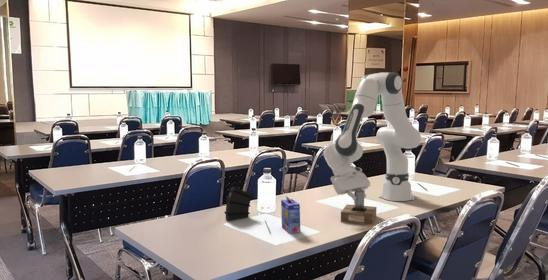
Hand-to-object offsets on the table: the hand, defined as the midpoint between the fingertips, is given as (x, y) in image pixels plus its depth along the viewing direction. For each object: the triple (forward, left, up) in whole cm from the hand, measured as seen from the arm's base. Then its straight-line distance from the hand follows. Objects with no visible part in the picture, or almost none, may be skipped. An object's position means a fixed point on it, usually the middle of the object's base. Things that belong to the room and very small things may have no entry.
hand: (360, 198), depth 207 cm
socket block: (0, -1, -10) cm, 10 cm away
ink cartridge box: (+25, -26, -10) cm, 37 cm away
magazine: (+16, -54, -10) cm, 57 cm away
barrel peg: (0, -1, -8) cm, 8 cm away
